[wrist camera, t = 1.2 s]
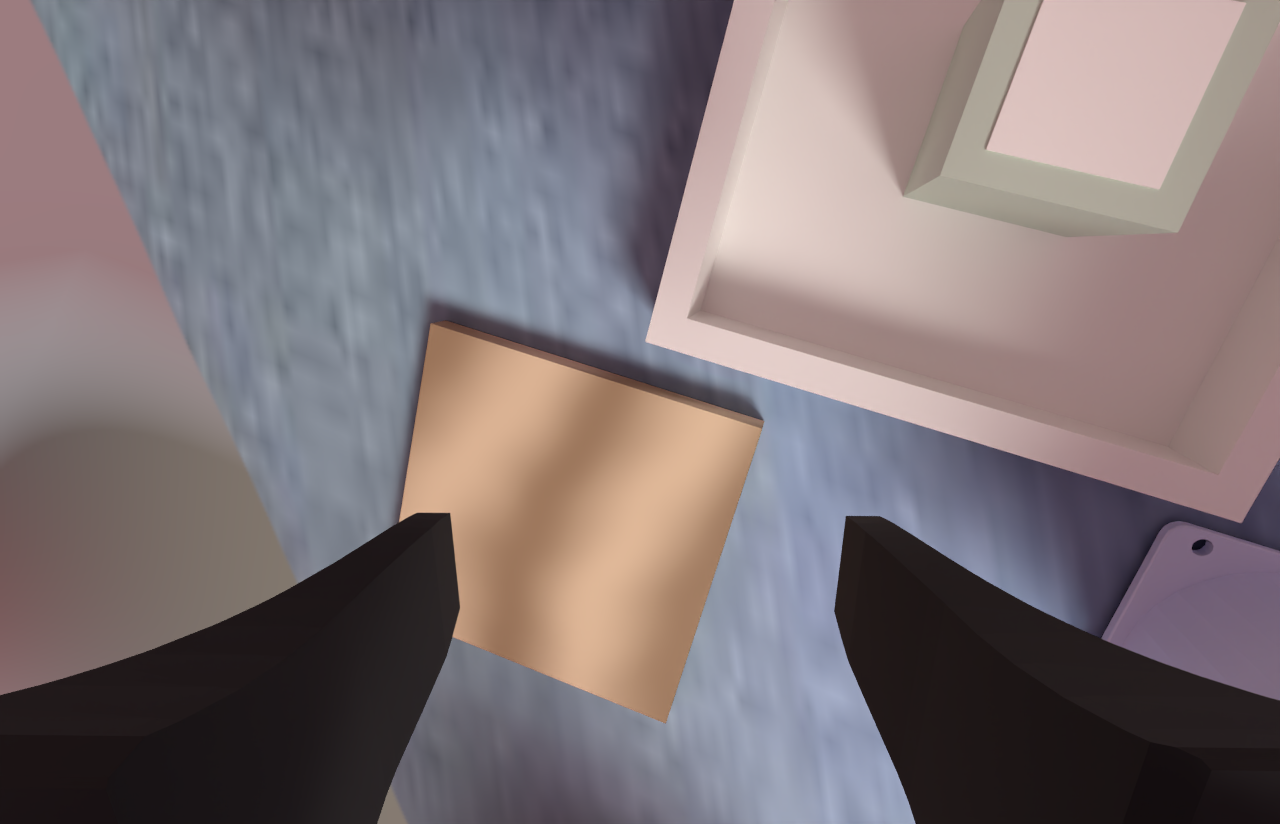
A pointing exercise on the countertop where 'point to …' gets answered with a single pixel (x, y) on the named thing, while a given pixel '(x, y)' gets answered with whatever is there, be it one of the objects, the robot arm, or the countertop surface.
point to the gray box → (1089, 110)
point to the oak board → (575, 510)
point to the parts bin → (972, 268)
